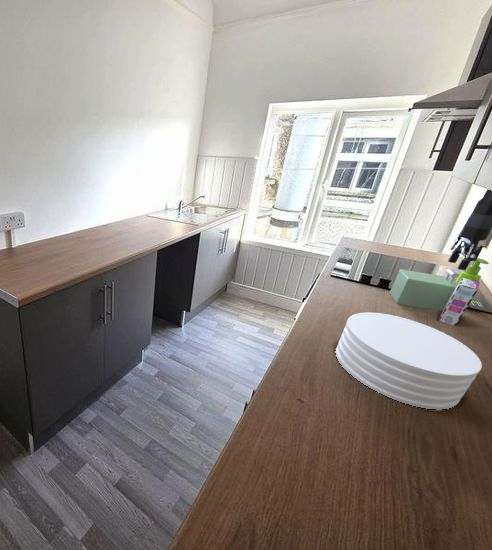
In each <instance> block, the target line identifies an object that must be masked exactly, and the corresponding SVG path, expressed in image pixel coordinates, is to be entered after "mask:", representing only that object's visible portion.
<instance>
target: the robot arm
mask: <svg viewBox="0 0 492 550" xmlns="http://www.w3.org/2000/svg"><path fill="white" fill-rule="evenodd" d="M491 232H492V191H491V190H488V189H487V188H486V190H485V192H484V193H483V195H482V196H481V197H479V198H477V200H476V201H475V203H474V205H473V207H472V209H471V210H470V213H469V214H468V215H467V216H466V218H465V219H464V222H463V224H462V226H461V228H460V229H459V231H458V233H457V236H456V238H455V240H454V242H453V243H452V245H451V246H450V249H449V250H450V251H451V254H450V256H449V258H448V260H447V262H448V263H452V264H456V263H457V262H458V260H459V258H460V256H461V255H462V258H461V260H460V261H459V262H460V263H458V266H457V269H458V270H461V271H466V270H467V269H468V267H469V265H470V263H471V262H475V261H476V260H477V258H479V256H480V254H481V252H482V250H483V248H484V246H483V245H481V244H479V243H480V242H481V241H487V240H488V238H489V237H490V234H491Z"/></svg>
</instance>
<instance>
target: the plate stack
mask: <svg viewBox="0 0 492 550" xmlns="http://www.w3.org/2000/svg"><path fill="white" fill-rule="evenodd" d="M335 350H336V351H334V354H335V353H336V355H335V358H336V357H337V359H338V361H339V362H338V361H337V362H338V364H339V363H340V364H341V365H342V366H341V365H340V364H339V365H340V366H341V368H342V367H343V368H344V369H345V370H346V371H347V372H348V373H349V374H351V375H352V376H353V377H354V378H356V379H357V380H358V381H360V382H361V383H363V384H364V385H366V386H368V387H369V388H371V389H373V390H375V391H377V392H378V393H377V392H376V393H377V394H379V393H381V394H383V395H385V396H387V397H389V398H392V399H394V400H397V401H399V402H398V403H400V402H402V403H405V404H404V405H406V404H409V405H412V406H411V407H413V406H416V407H415V408H417V407H421V408H426V409H425V410H427V409H436V410H435V411H443V410H442V409H447V410H450V409H449V408H451V409H453V408H455V407H456V406H458V404H459V403H460V402H461V399H462V398H463V397H464V396H465V394H466V392H467V390H469V388H470V387H471V385H472V384H473V382H474V381H475V379H476V378H477V375H478V374H479V373H480V371H482V368H483V366H482V365H483V363H482V361H481V359H480V358H479V356H478V355H477V354H476V353H475V352H474V351H473V349H470V348H469V347H468V346H467V345H465V343H464V344H463V343H462V342H461V341H460V340H458V339H456V338H454V337H453V336H451V335H449V334H446V333H445V332H443V331H441V330H438V329H436V328H434V327H432V326H429V325H427V324H423V323H420V322H419V321H415V320H412V319H408V318H405V317H401V316H397V315H392V314H387V313H382V312H381V313H380V312H369V311H368V312H357V313H354V314H352V315H350V316H349V317H348V318H347V320H346V323H345V326H344V328H343V331H342V333H341V335H340V338H339V340H338V343H337V345H336V348H335ZM337 359H336V360H337ZM343 368H342V369H343ZM344 369H343V370H344ZM345 370H344V371H345ZM346 371H345V372H346ZM347 372H346V373H347ZM348 373H347V374H348ZM349 374H348V375H349ZM351 375H350V376H351ZM352 376H351V377H352ZM353 377H352V378H353ZM354 378H353V379H354ZM356 379H355V380H356ZM357 380H356V381H357ZM358 381H357V382H358ZM360 382H359V383H360ZM361 383H360V384H361ZM363 384H362V385H363ZM364 385H363V386H364ZM366 386H365V387H366ZM368 387H367V388H368ZM369 388H368V389H369ZM371 389H370V390H371ZM373 390H372V391H373ZM375 391H374V392H375ZM381 394H380V395H381ZM383 395H382V396H383ZM385 396H384V397H385ZM387 397H386V398H387ZM389 398H388V399H389ZM392 399H391V400H392ZM394 400H393V401H394ZM397 401H396V402H397ZM402 403H401V404H402ZM409 405H408V406H409ZM454 406H455V407H454ZM452 407H453V408H452ZM421 408H420V409H421Z"/></svg>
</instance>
